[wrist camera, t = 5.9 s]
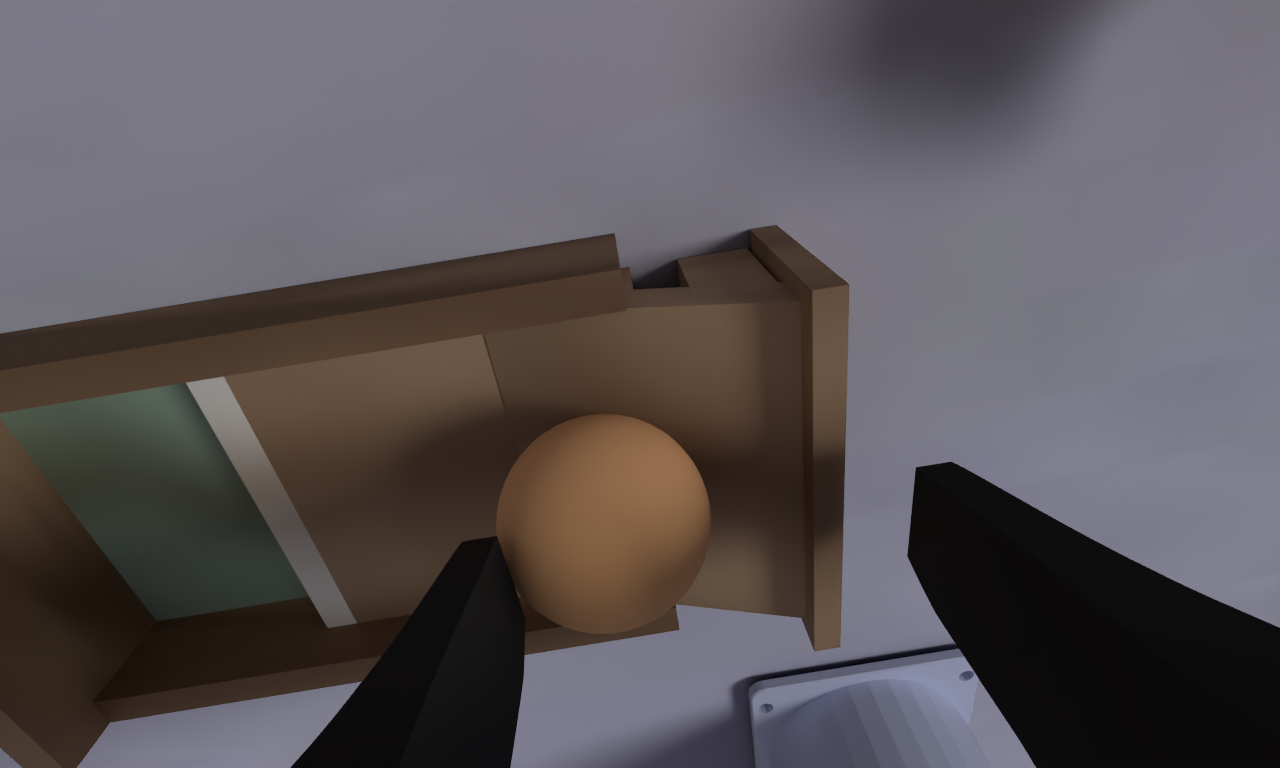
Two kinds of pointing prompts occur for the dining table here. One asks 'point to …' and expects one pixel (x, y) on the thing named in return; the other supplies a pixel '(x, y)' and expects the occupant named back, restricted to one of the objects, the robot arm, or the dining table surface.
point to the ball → (603, 523)
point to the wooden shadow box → (384, 465)
